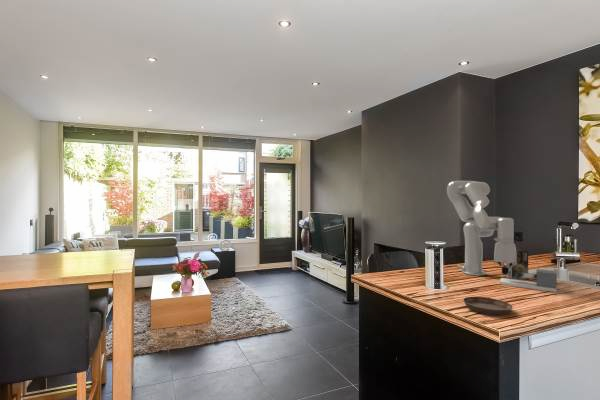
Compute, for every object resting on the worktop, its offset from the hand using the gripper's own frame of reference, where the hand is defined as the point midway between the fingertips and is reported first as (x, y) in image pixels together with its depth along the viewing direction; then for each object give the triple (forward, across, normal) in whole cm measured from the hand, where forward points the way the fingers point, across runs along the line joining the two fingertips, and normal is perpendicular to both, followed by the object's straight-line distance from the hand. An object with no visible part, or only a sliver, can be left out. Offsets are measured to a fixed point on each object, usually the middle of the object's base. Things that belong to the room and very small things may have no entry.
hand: (505, 274), depth 179 cm
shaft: (+2, +10, 0) cm, 10 cm away
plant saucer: (+5, -3, -54) cm, 54 cm away
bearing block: (+3, +18, 0) cm, 18 cm away
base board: (+5, +10, 0) cm, 11 cm away
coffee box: (+5, +5, +19) cm, 20 cm away
